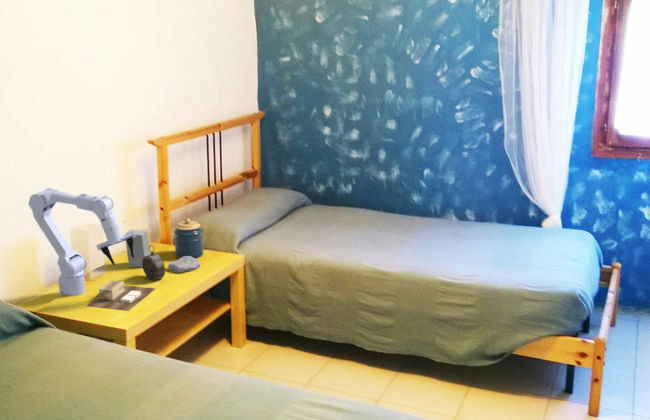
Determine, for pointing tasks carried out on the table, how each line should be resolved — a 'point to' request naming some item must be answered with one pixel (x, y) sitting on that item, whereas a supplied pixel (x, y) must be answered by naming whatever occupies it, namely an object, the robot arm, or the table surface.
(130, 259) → the skincare box
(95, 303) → the walnut board
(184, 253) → the canister
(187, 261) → the stone block
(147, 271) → the alarm clock
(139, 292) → the paint flake
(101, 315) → the table surface
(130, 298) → the paint flake
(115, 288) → the block
